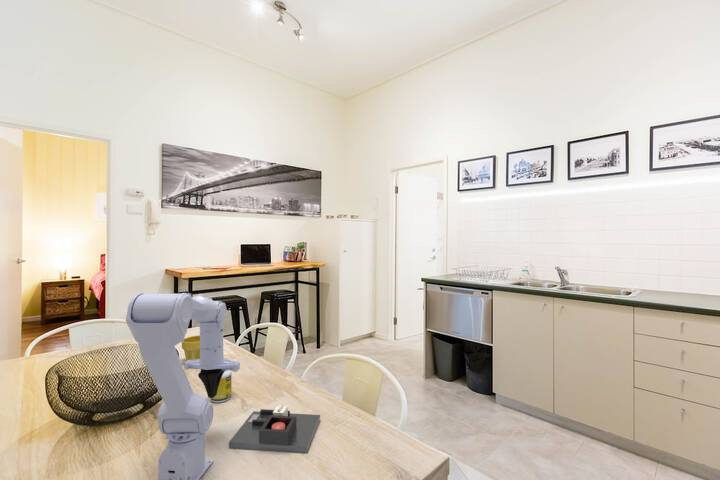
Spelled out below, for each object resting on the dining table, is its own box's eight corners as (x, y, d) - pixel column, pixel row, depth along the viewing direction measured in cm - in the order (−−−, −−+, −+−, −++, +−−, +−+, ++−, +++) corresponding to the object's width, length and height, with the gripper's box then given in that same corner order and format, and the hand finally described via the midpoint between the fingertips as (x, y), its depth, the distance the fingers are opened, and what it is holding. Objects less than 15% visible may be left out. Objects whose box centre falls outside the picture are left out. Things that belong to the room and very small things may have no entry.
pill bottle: (224, 404, 108) (223, 367, 108) (205, 402, 109) (205, 366, 109) (235, 395, 114) (235, 360, 114) (218, 393, 116) (218, 359, 116)
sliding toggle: (283, 423, 94) (283, 410, 94) (272, 423, 94) (272, 410, 94) (287, 416, 98) (287, 403, 98) (277, 415, 98) (277, 403, 98)
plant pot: (184, 358, 148) (184, 336, 148) (210, 356, 151) (210, 334, 151) (179, 367, 138) (179, 343, 138) (207, 364, 141) (207, 341, 141)
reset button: (282, 439, 87) (282, 429, 87) (269, 439, 87) (269, 429, 87) (286, 432, 90) (286, 422, 90) (274, 431, 90) (274, 421, 90)
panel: (307, 453, 84) (307, 433, 84) (229, 447, 86) (228, 429, 86) (320, 420, 99) (320, 403, 99) (253, 416, 101) (253, 400, 101)
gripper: (244, 341, 94) (245, 390, 95) (194, 339, 96) (195, 387, 96) (232, 351, 87) (233, 403, 88) (178, 348, 89) (179, 400, 89)
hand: (212, 396), depth 92 cm, fingers closed
